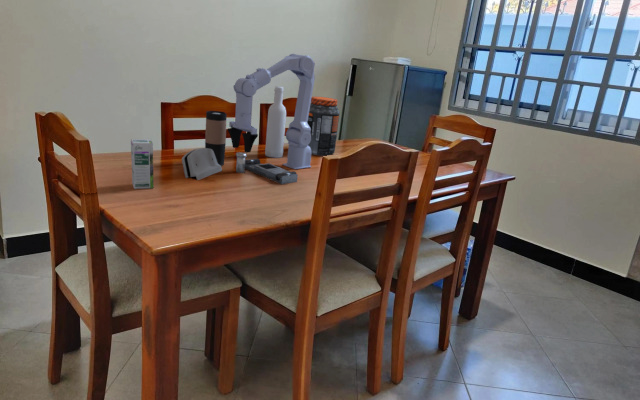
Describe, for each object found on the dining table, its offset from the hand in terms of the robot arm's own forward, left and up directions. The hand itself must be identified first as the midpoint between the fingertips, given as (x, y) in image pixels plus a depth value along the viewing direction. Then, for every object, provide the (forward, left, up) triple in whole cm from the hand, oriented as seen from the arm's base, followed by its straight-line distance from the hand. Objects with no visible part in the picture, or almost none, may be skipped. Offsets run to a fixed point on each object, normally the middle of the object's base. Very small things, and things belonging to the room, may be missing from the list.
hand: (241, 149), depth 161 cm
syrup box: (+38, +2, -9) cm, 39 cm away
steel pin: (0, 0, -8) cm, 8 cm away
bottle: (-29, -16, -9) cm, 34 cm away
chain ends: (-8, +6, -8) cm, 13 cm away
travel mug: (+3, -13, -9) cm, 16 cm away
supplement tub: (-55, -14, -9) cm, 57 cm away
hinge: (+14, -4, -9) cm, 17 cm away
